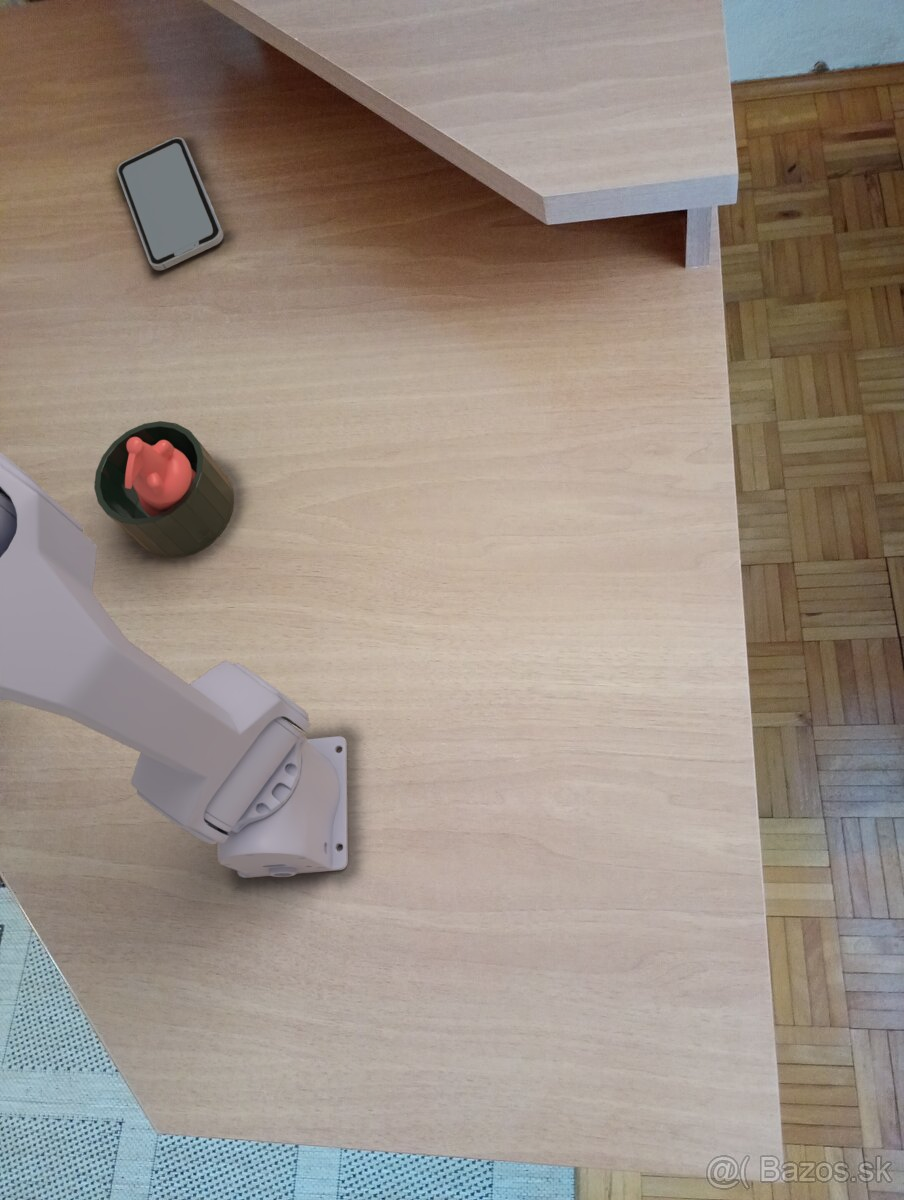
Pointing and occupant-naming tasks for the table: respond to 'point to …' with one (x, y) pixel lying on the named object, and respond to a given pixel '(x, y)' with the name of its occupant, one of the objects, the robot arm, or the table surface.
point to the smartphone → (169, 204)
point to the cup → (185, 521)
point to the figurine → (157, 474)
